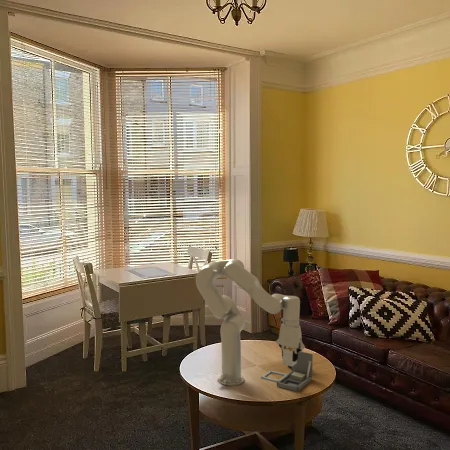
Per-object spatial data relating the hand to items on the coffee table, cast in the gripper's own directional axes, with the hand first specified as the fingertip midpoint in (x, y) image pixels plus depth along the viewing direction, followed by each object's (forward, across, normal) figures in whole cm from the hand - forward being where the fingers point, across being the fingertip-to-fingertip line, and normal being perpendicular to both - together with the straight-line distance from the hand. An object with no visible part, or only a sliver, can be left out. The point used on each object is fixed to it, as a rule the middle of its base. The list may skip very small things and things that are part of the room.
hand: (289, 359), depth 231 cm
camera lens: (+14, -8, +23) cm, 28 cm away
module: (+2, 0, 0) cm, 2 cm away
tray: (+14, -10, +6) cm, 18 cm away
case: (+14, +1, +4) cm, 14 cm away
